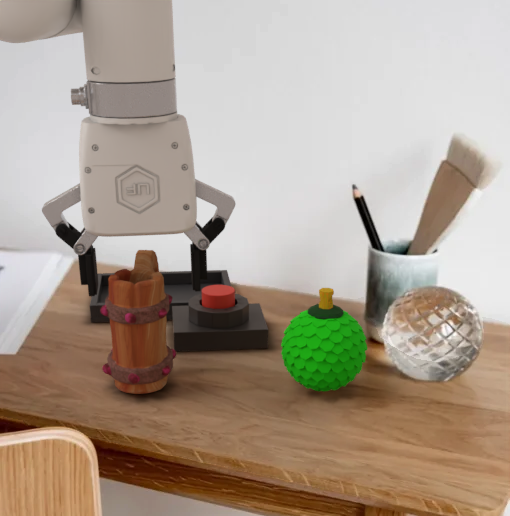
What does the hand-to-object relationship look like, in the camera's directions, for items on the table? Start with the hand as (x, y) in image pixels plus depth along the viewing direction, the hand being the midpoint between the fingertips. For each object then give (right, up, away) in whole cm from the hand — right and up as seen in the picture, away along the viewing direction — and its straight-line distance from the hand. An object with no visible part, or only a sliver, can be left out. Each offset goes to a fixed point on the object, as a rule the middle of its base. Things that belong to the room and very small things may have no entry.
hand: (145, 289), depth 79 cm
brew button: (+6, -1, +12) cm, 14 cm away
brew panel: (+6, -4, +14) cm, 16 cm away
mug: (-1, -9, +4) cm, 9 cm away
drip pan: (-1, 0, +23) cm, 23 cm away
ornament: (+17, -10, +2) cm, 19 cm away
